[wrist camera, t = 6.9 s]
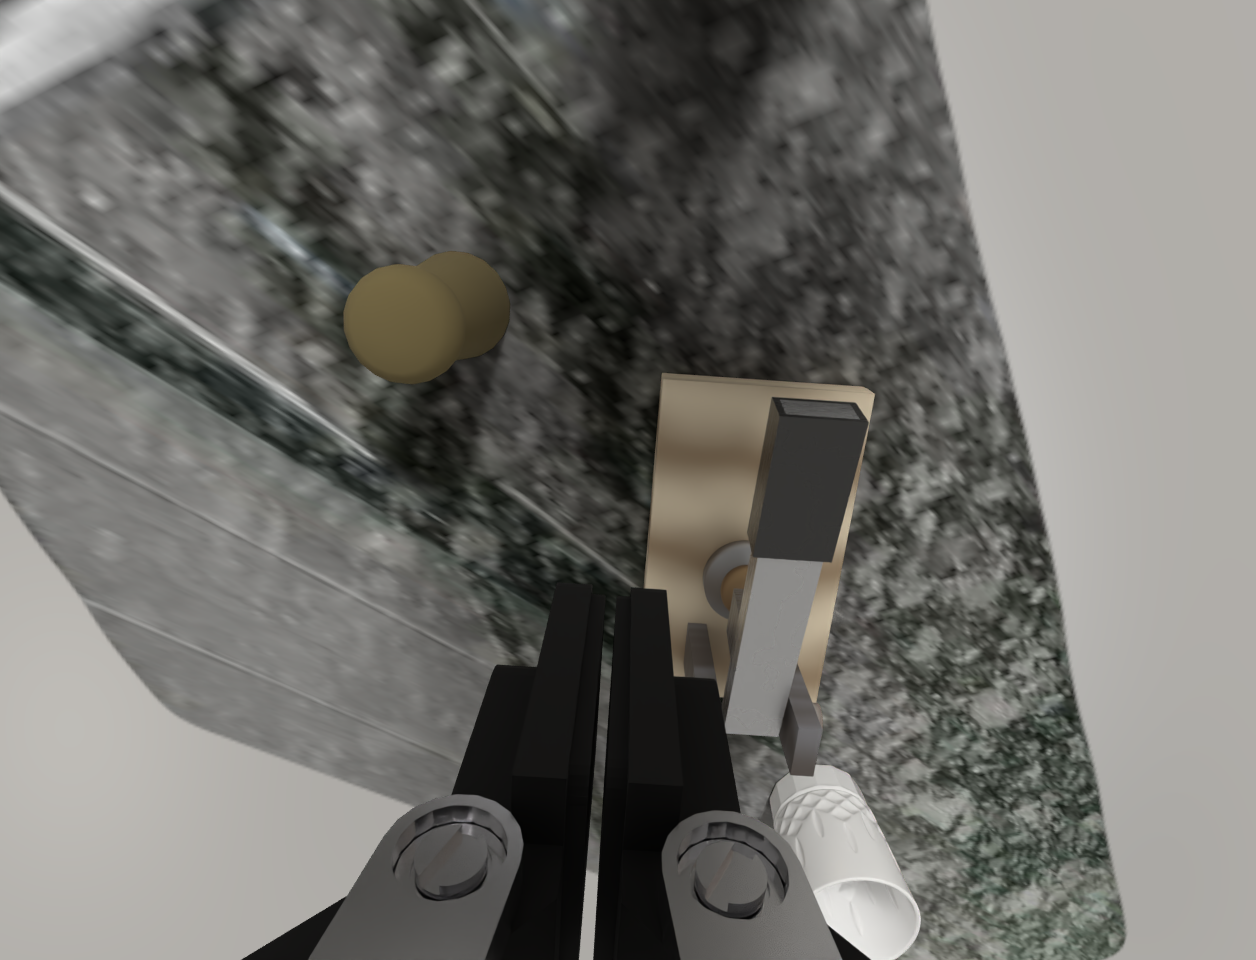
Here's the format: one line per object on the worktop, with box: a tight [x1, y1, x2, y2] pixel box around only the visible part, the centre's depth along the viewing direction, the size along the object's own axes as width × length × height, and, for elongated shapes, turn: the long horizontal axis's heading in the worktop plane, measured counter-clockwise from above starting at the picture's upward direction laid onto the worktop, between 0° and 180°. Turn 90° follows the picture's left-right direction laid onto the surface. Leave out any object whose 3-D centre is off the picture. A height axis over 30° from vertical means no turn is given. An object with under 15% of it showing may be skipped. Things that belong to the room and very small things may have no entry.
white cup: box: [770, 765, 921, 960], centre depth 46 cm, size 8×8×10 cm
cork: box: [344, 251, 510, 384], centre depth 34 cm, size 6×6×11 cm
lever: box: [722, 397, 869, 737], centre depth 34 cm, size 19×4×4 cm, turn 176°
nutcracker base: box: [644, 373, 875, 777], centre depth 38 cm, size 21×12×12 cm, turn 176°
